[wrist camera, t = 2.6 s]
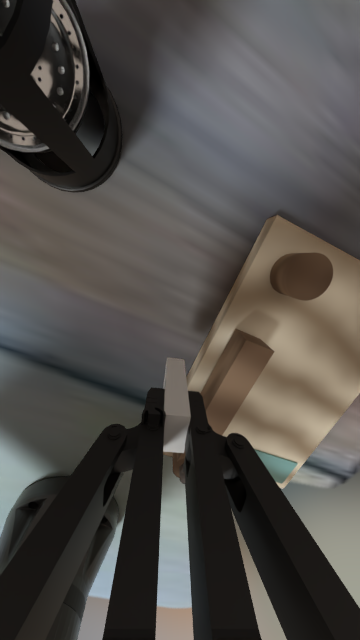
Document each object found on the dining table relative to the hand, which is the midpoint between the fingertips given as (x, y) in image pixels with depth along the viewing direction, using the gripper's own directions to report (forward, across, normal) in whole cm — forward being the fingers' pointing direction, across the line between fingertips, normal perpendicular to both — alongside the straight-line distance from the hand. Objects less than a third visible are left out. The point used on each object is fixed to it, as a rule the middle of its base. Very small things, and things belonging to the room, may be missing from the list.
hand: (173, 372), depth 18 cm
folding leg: (+4, -5, +5) cm, 8 cm away
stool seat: (+6, -13, +3) cm, 15 cm away
